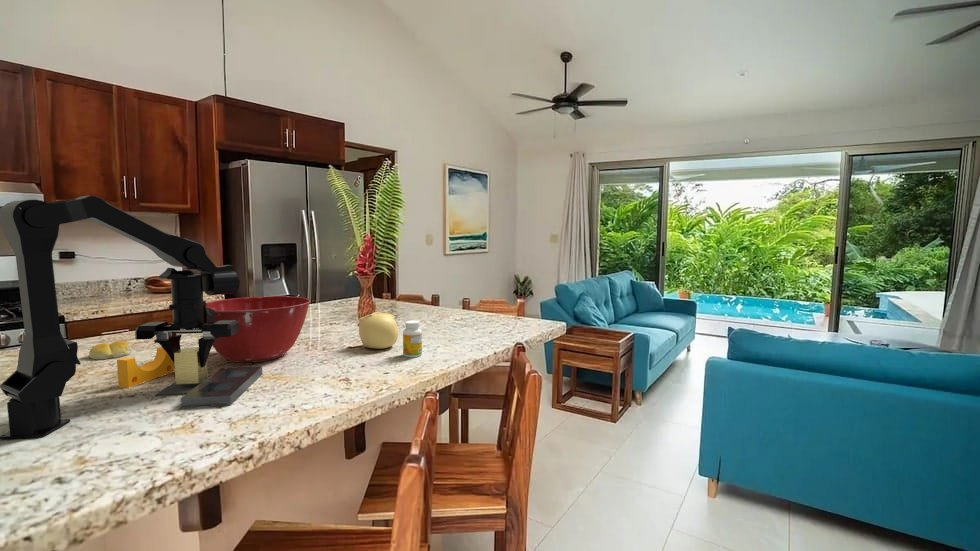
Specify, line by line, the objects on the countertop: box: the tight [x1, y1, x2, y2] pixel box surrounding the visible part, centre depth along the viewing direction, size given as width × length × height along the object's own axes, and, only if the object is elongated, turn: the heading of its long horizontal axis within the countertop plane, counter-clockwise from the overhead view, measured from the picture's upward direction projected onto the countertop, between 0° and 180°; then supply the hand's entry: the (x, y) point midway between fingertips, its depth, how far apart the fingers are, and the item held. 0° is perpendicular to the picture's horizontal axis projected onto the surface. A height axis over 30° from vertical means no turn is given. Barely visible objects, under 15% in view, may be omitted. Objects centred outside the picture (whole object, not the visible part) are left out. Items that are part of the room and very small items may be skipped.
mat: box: [154, 377, 209, 397], centre depth 100 cm, size 10×10×1 cm
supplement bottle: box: [402, 320, 423, 358], centre depth 127 cm, size 5×5×10 cm
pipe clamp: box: [116, 346, 175, 389], centre depth 104 cm, size 12×4×6 cm, turn 172°
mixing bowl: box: [204, 295, 311, 364], centre depth 124 cm, size 28×28×15 cm
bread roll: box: [88, 340, 132, 360], centre depth 123 cm, size 8×9×4 cm
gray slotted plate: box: [180, 365, 263, 409], centre depth 98 cm, size 20×9×2 cm, turn 11°
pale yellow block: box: [174, 346, 208, 384], centre depth 99 cm, size 4×4×7 cm
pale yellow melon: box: [358, 311, 399, 349], centre depth 136 cm, size 12×12×11 cm
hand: (191, 367), depth 99 cm, fingers closed on pale yellow block, 4 cm apart
